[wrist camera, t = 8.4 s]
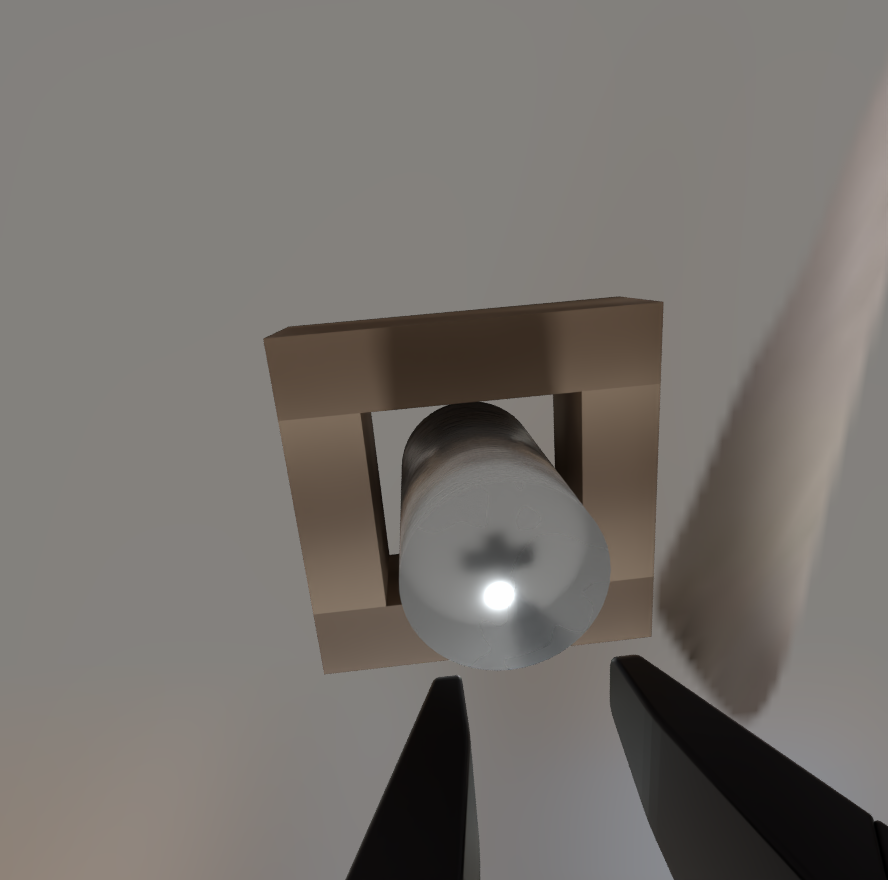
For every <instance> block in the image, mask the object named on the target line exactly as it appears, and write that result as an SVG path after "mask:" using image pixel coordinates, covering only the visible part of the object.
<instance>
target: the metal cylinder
mask: <svg viewBox="0 0 888 880" xmlns="http://www.w3.org/2000/svg"><path fill="white" fill-rule="evenodd" d="M400 521H401V522H400V558H399V593H400V598H401V603H402V607H403V610H404V612H405V615H406V617H407V619H408V621H409V623H410V625H411V627H412V628H413V629H414V631H415V632H416V633H417V635H418V636H419V637H420V638H421V639H422V640H423V641H424V642H425V643H426V644H427V645H428V646H429V647H430V648H431V649H433V650H434V651H435V652H437V653H438V654H440V655H442V656H443V657H445V658H447V659H449V660H451V661H453V662H456V663H458V664H461V665H464V666H468V667H471V668H477V669H483V670H512V669H518V668H523V667H527V666H531V665H534V664H537V663H540V662H542V661H545V660H547V659H550V658H551V657H553V656H555V655H557V654H559V653H561V652H562V651H564V650H565V649H566V648H568V647H569V646H571V645H572V644H573V643H574V642H575V641H577V640H578V639H579V638H580V637H581V636H582V635H583V634H584V633H585V632H586V631H587V629H588V628H589V627H590V626H591V624H592V623H593V622H594V620H595V619H596V617H597V616H598V614H599V612H600V610H601V608H602V606H603V604H604V601H605V598H606V596H607V592H608V588H609V584H610V574H611V566H610V556H609V551H608V546H607V544H606V541H605V538H604V536H603V534H602V532H601V530H600V528H599V527H598V525H597V523H596V522H595V520H594V519H593V518H592V517H591V515H590V514H589V513H588V511H587V510H586V509H585V507H584V506H583V505H582V503H581V502H580V501H579V499H578V498H577V497H576V495H575V494H574V493H573V491H572V490H571V489H570V488H569V486H568V485H567V484H566V482H565V481H564V480H563V478H562V477H561V476H560V474H559V473H558V472H557V470H556V469H555V468H554V466H553V465H552V464H551V462H550V461H549V460H548V459H547V457H546V456H545V455H544V453H543V452H542V451H541V449H540V448H539V447H538V445H537V444H536V443H535V442H534V440H533V439H532V437H531V436H530V435H529V433H528V432H527V431H526V430H525V428H524V427H523V426H522V424H521V423H520V422H519V421H518V420H517V419H516V418H515V417H514V416H513V415H511V414H510V413H508V412H507V411H505V410H503V409H502V408H500V407H497V406H494V405H492V404H488V403H484V402H469V403H459V404H450V405H447V406H445V407H442V408H440V409H438V410H436V411H434V412H433V413H431V414H430V415H429V416H427V417H426V418H425V419H423V421H422V422H421V423H420V424H419V425H418V426H417V427H416V428H415V430H414V431H413V432H412V434H411V436H410V437H409V439H408V441H407V444H406V446H405V450H404V454H403V459H402V481H401V520H400Z"/></svg>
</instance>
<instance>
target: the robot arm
mask: <svg viewBox="0 0 888 880" xmlns="http://www.w3.org/2000/svg"><path fill="white" fill-rule="evenodd" d="M610 706H611V712H612V716H613V719H614V722H615V725H616V728H617V731H618V734H619V737H620V740H621V743H622V746H623V749H624V752H625V755H626V757H627V761H628V763H629V767H630V769H631V772H632V776H633V778H634V781H635V784H636V787H637V790H638V793H639V796H640V799H641V802H642V805H643V808H644V811H645V813H646V816H647V819H648V822H649V824H650V827H651V829H652V831H653V834H654V836H655V838H656V841H657V843H658V845H659V848H660V850H661V852H662V854H663V856H664V858H665V861H666V863H667V865H668V867H669V870H670V872H671V874H672V876H673V878H674V880H888V826H887V825H885V824H884V823H882V822H881V821H878V820H877V821H875V822H874V820H873V817H872V816H871V815H870V814H869V813H867V812H866V811H865V810H863V809H861V808H860V807H859V806H857V805H856V804H854V803H853V802H851V801H850V800H848V799H847V798H846V797H844V796H843V795H841V794H840V793H838V792H837V791H836V790H834V789H833V788H831V787H830V786H828V785H827V784H825V783H824V782H823V781H821V780H820V779H818V778H817V777H815V776H814V775H812V774H811V773H809V772H808V771H807V770H805V769H804V768H802V767H801V766H799V765H797V764H796V763H795V762H793V761H792V760H791V759H789V758H788V757H786V756H785V755H783V754H782V753H780V752H779V751H777V750H776V749H775V748H773V747H772V746H770V745H769V744H767V743H766V742H764V741H763V740H762V739H760V738H759V737H757V736H756V735H754V734H753V733H751V732H750V731H748V730H747V729H746V728H744V727H743V726H741V725H740V724H738V723H737V722H735V721H734V720H733V719H731V718H730V717H728V716H727V715H725V714H724V713H722V712H721V711H719V710H718V709H717V708H715V707H714V706H712V705H711V704H709V703H708V702H706V701H705V700H704V699H702V698H701V697H699V696H698V695H696V694H695V693H693V692H692V691H690V690H689V689H687V688H686V687H685V686H683V685H682V684H680V683H679V682H677V681H676V680H674V679H673V678H671V677H670V676H669V675H667V674H666V673H664V672H663V671H661V670H660V669H659V668H657V667H656V666H654V665H653V664H651V663H650V662H648V661H647V660H645V659H644V658H643V657H641V656H639V655H628V656H619V657H614V658H613V659H612V660H611V664H610ZM346 880H480V848H479V833H478V822H477V810H476V799H475V787H474V776H473V764H472V754H471V741H470V731H469V723H468V717H467V710H466V703H465V697H464V690H463V684H462V679H461V677H460V676H458V675H455V676H446V677H438V678H436V679H435V680H434V681H433V683H432V685H431V687H430V689H429V692H428V694H427V696H426V699H425V701H424V703H423V705H422V708H421V710H420V712H419V714H418V717H417V719H416V721H415V724H414V726H413V728H412V730H411V733H410V735H409V737H408V739H407V742H406V744H405V746H404V748H403V751H402V753H401V755H400V757H399V760H398V762H397V764H396V766H395V769H394V771H393V773H392V776H391V778H390V780H389V783H388V785H387V787H386V789H385V791H384V794H383V796H382V798H381V800H380V803H379V805H378V807H377V810H376V812H375V814H374V817H373V819H372V821H371V823H370V825H369V828H368V830H367V832H366V834H365V837H364V839H363V841H362V844H361V846H360V848H359V851H358V853H357V855H356V857H355V859H354V862H353V864H352V866H351V868H350V871H349V873H348V875H347V878H346Z"/></svg>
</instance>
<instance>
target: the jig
mask: <svg viewBox="0 0 888 880" xmlns="http://www.w3.org/2000/svg"><path fill="white" fill-rule="evenodd" d="M662 327H663V302H660V301H652V300H643V299H635V298H627V297H609V298H599V299H587V300H576V301H565V302H555V303H543V304H532V305H522V306H510V307H500V308H488V309H478V310H466V311H455V312H445V313H434V314H423V315H411V316H400V317H390V318H379V319H369V320H357V321H346V322H335V323H324V324H313V325H303V326H292V327H287V328H285V329H283V330H281V331H278V332H276V333H274V334H273V335H270V336H268V337H266V338H264V345H265V351H266V356H267V362H268V367H269V373H270V378H271V384H272V389H273V395H274V400H275V406H276V411H277V417H278V422H279V427H280V433H281V438H282V444H283V449H284V454H285V461H286V466H287V471H288V477H289V482H290V488H291V494H292V499H293V505H294V510H295V516H296V521H297V527H298V532H299V537H300V543H301V549H302V554H303V560H304V565H305V570H306V575H307V581H308V587H309V593H310V598H311V603H312V609H313V614H314V620H315V626H316V631H317V637H318V642H319V647H320V653H321V659H322V663H323V669H324V674H332V673H340V672H349V671H358V670H366V669H374V668H383V667H392V666H400V665H410V664H418V663H427V662H436V661H444V660H449V659H447V658H445V657H443V656H442V655H440V654H438V653H437V652H435V651H434V650H433V649H431V648H430V647H429V646H428V645H427V644H426V643H425V642H424V641H423V640H422V639H421V638H420V637H419V636H418V635H417V633H416V632H415V631H414V629H413V628H412V627H411V625H410V623H409V621H408V619H407V617H406V615H405V612H404V610H403V607H402V603H401V598H400V593H399V558H400V554H395V555H389V549H388V541H387V533H386V525H385V517H384V510H383V503H382V495H381V486H380V478H379V471H378V463H377V455H376V448H375V439H374V432H373V424H372V416H371V412H377V411H387V410H397V409H407V408H416V407H428V406H438V405H448V404H459V403H469V402H479V401H489V400H499V399H510V398H519V397H530V396H540V395H551V394H553V407H554V448H555V469H556V470H557V472H558V473H559V474H560V476H561V477H562V478H563V480H564V481H565V482H566V484H567V485H568V486H569V488H570V489H571V490H572V491H573V493H574V494H575V495H576V497H577V498H578V499H579V501H580V502H581V503H582V505H583V506H584V507H585V509H586V510H587V511H588V513H589V514H590V515H591V517H592V518H593V519H594V520H595V522H596V523H597V525H598V527H599V528H600V530H601V532H602V534H603V536H604V538H605V541H606V544H607V546H608V551H609V556H610V566H611V574H610V584H609V588H608V592H607V596H606V598H605V601H604V604H603V606H602V608H601V610H600V612H599V614H598V616H597V617H596V619H595V620H594V622H593V623H592V624H591V626H590V627H589V628H588V629H587V631H586V632H585V633H584V634H583V635H582V636H581V637H580V638H579V639H578V640H577V641H575V642H574V643H573V644H572V645H571V646H574V645H583V644H591V643H600V642H609V641H618V640H626V639H635V638H644V637H651V635H652V607H653V579H654V551H655V523H656V495H657V467H658V439H659V438H658V437H659V411H660V383H661V356H662V354H661V353H662Z"/></svg>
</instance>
